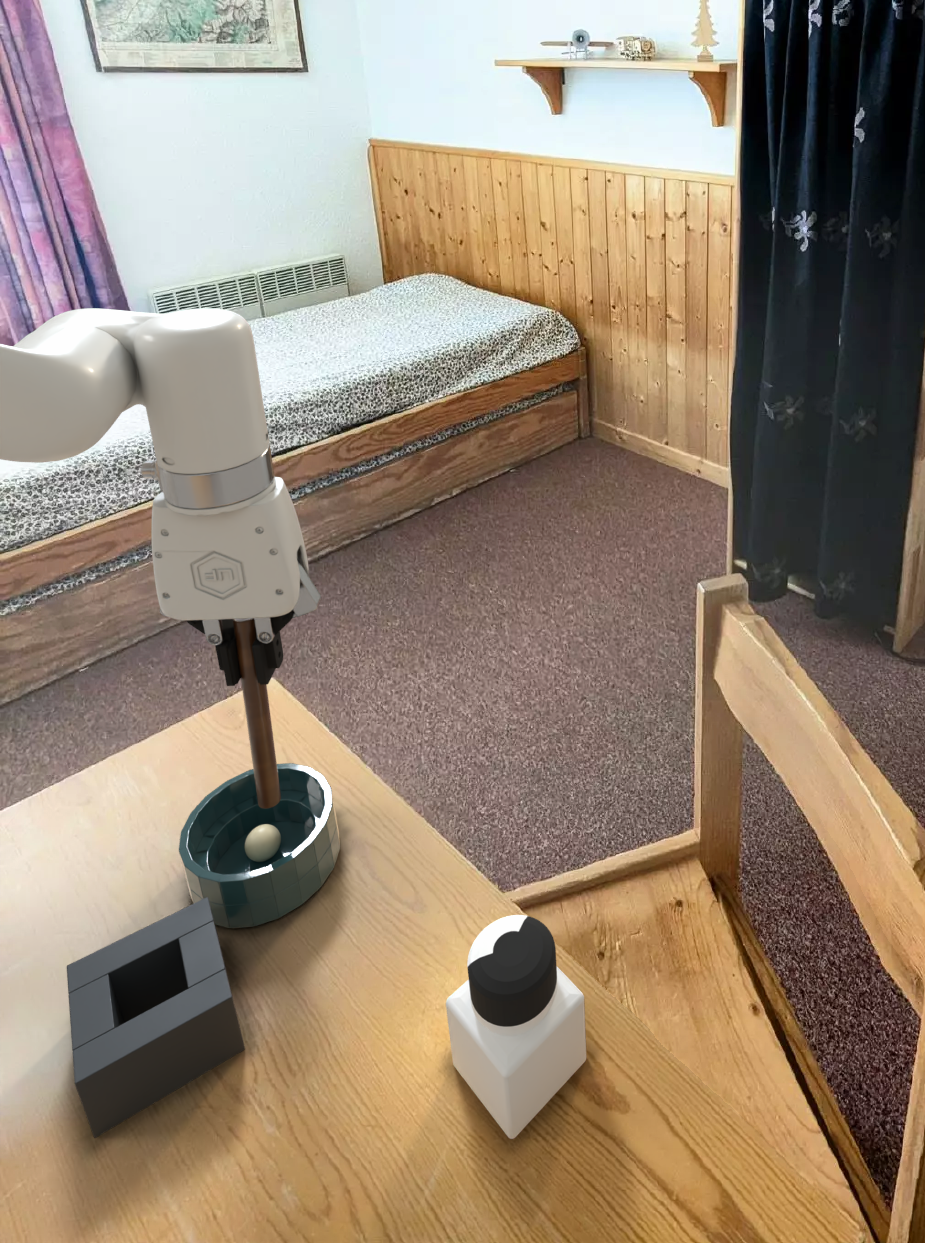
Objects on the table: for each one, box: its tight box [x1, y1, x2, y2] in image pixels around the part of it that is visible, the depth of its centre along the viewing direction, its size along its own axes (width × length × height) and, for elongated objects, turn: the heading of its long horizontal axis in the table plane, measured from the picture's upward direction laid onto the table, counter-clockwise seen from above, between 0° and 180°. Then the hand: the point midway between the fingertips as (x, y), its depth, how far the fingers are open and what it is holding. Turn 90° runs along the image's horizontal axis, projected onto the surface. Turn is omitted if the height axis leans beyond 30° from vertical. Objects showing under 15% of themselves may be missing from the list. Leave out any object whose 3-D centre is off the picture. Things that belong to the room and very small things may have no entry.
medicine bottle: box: [445, 914, 587, 1140], centre depth 61 cm, size 7×7×12 cm
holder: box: [66, 897, 246, 1139], centre depth 64 cm, size 10×10×6 cm
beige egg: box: [245, 824, 281, 862], centre depth 78 cm, size 3×3×3 cm
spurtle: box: [233, 618, 281, 809], centre depth 72 cm, size 2×2×18 cm
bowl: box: [178, 762, 341, 929], centre depth 77 cm, size 12×12×6 cm
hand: (254, 672), depth 71 cm, fingers closed on spurtle, 1 cm apart
